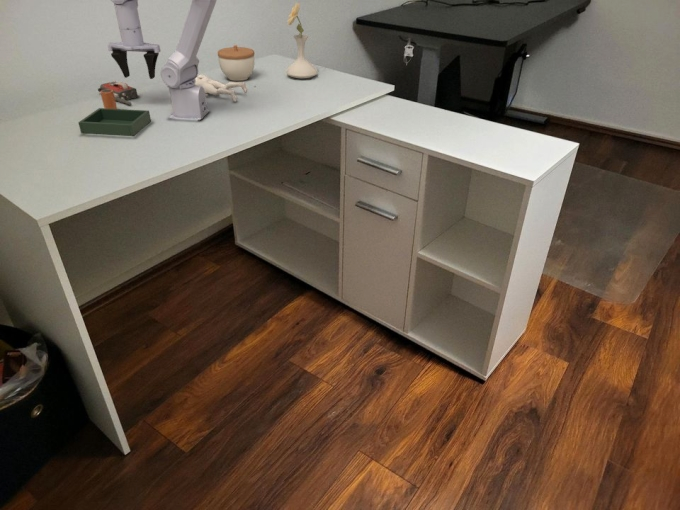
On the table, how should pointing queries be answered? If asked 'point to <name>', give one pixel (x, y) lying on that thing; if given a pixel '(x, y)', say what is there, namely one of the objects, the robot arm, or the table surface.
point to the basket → (115, 122)
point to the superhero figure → (218, 86)
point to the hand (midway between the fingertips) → (139, 77)
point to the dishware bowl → (236, 62)
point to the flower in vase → (300, 51)
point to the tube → (108, 99)
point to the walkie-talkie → (120, 91)
